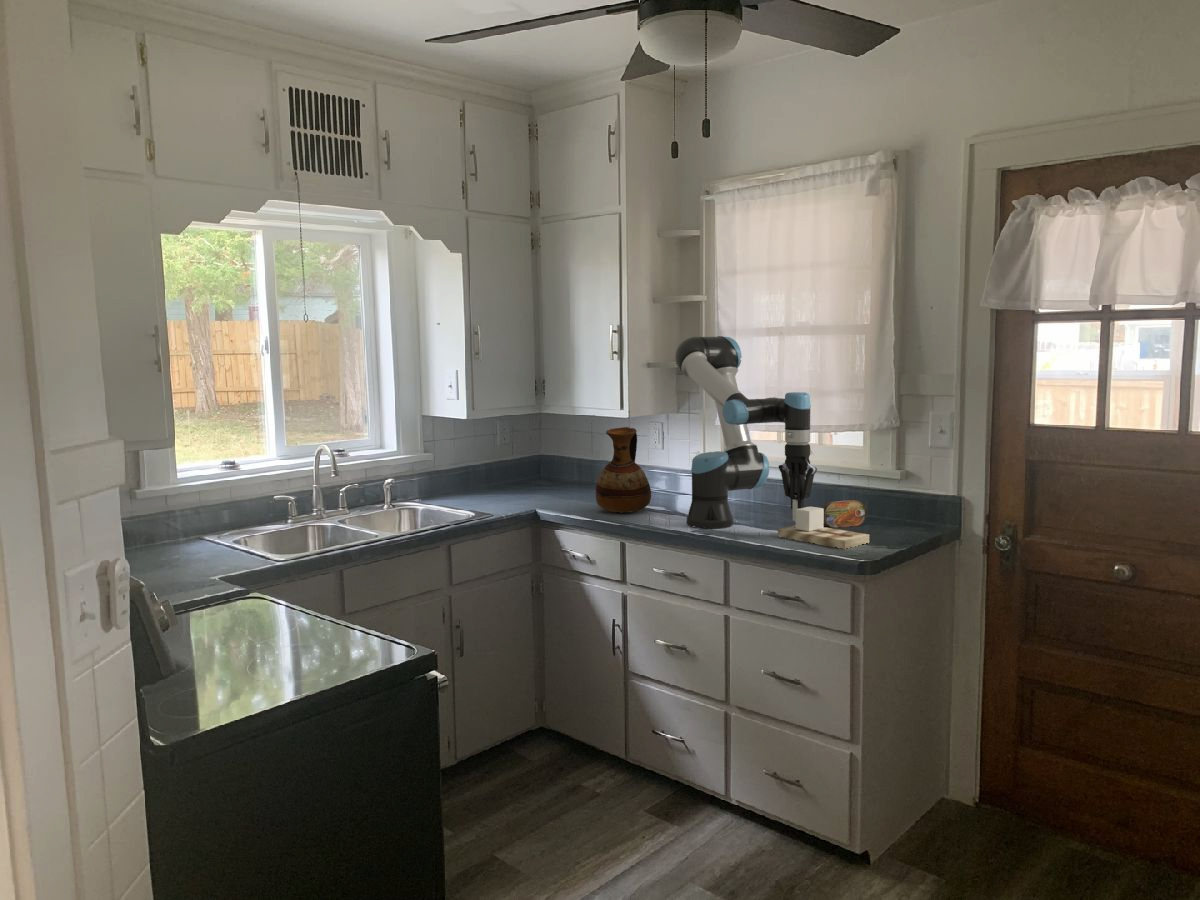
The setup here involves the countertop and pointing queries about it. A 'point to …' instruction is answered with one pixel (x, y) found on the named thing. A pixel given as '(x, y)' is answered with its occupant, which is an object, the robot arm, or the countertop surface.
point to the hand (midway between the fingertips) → (797, 520)
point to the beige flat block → (825, 536)
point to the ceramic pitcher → (623, 476)
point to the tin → (844, 513)
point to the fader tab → (809, 518)
